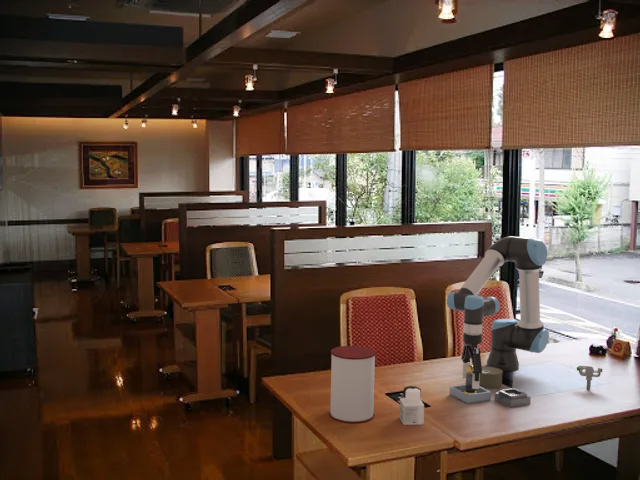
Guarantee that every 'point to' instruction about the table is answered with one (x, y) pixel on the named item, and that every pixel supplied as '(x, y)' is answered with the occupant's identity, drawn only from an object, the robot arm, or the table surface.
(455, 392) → the tray
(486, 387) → the can
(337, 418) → the container
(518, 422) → the table surface
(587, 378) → the mechanical component
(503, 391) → the recessed square block
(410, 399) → the container
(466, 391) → the strut
